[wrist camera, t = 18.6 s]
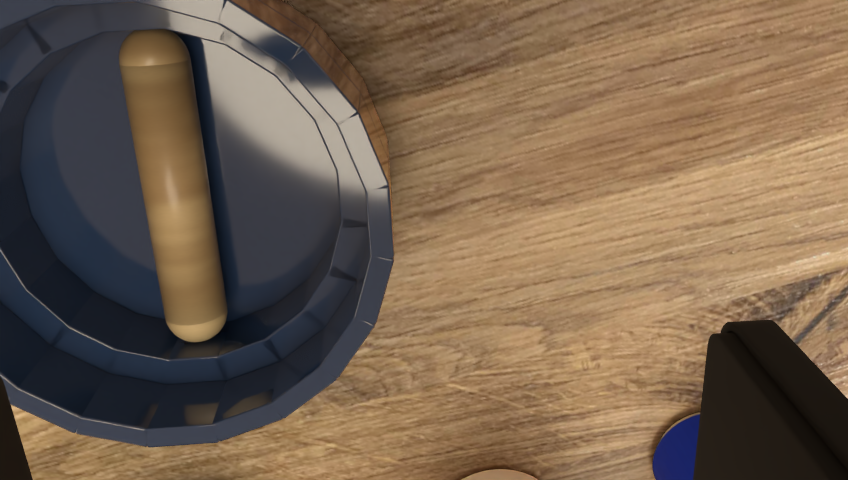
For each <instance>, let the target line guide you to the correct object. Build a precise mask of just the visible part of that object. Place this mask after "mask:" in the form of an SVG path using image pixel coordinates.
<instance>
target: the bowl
mask: <svg viewBox="0 0 848 480" xmlns="http://www.w3.org/2000/svg"><path fill="white" fill-rule="evenodd" d="M157 29H166V30H169V31H172V32H173V33H175V34H176V35H177V36H178V37H179V38H181V39H182V41H183V42H184V44H185V45H186V47H187V49H188V51H189V55H190V59H191V66H192V73H193V79H194V86H195V93H196V100H197V106H198V113H199V120H200V127H201V133H202V140H203V147H204V153H205V160H206V167H207V174H208V180H209V187H210V194H211V201H212V207H213V214H214V221H215V227H216V234H217V241H218V248H219V254H220V261H221V268H222V275H223V281H224V288H225V295H226V302H227V311H228V313H227V319H226V322H225V324H224V326H223V328H222V329H221V330H220V332H219V333H218V334H216V335H215V336H214V337H212V338H211V339H208V340H206V341H202V342H188V341H185V340H182V339H180V338H179V337H177V336H176V335H174V333H173V332H172V331H171V330H170V329H169V327H168V325H167V323H166V319H165V315H164V309H163V304H162V298H161V293H160V287H159V282H158V276H157V270H156V265H155V259H154V254H153V248H152V243H151V237H150V232H149V226H148V221H147V215H146V210H145V204H144V199H143V193H142V188H141V182H140V177H139V171H138V166H137V160H136V154H135V149H134V143H133V138H132V132H131V127H130V121H129V116H128V110H127V105H126V99H125V94H124V88H123V83H122V77H121V72H120V66H119V51H120V48H121V45H122V43H123V41H124V40H125V38H126V37H127V36H128V35H129V34H130V33H131V32H133V31H138V30H157ZM393 262H394V236H393V214H392V194H391V179H390V164H389V149H388V140H387V136H386V134H385V131H384V129H383V126H382V124H381V121H380V119H379V116H378V114H377V112H376V109H375V107H374V104H373V102H372V99H371V97H370V94H369V92H368V89H367V87H366V85H365V82H364V80H363V79H362V76H361V75H360V74H359V73H358V72H357V70H356V69H355V68H354V67H353V66H352V64H351V63H350V62H349V61H348V60H347V58H346V57H345V56H344V55H343V54H342V52H341V51H340V50H339V49H338V48H337V46H336V45H335V44H334V43H333V42H332V40H331V39H330V38H329V37H328V36H327V34H326V33H325V32H324V31H323V30H322V28H321V27H320V26H319V25H317V24H316V22H314V21H313V20H311V19H309V18H308V17H306V16H305V15H303V14H302V13H300V12H299V11H297V10H296V9H294V8H292V7H291V6H289V5H288V4H286V3H285V2H283V1H282V0H0V377H1V379H2V380H3V382H4V385H5V388H6V391H7V395H8V398H9V401H10V404H11V405H13V406H15V407H17V408H20V409H22V410H24V411H26V412H28V413H31V414H33V415H35V416H37V417H39V418H42V419H44V420H46V421H48V422H50V423H53V424H55V425H57V426H59V427H61V428H63V429H66V430H68V431H70V432H72V433H75V432H76V433H77V434H80V435H85V436H90V437H96V438H101V439H107V440H112V441H118V442H123V443H129V444H134V445H139V446H145V447H146V446H148V447H161V446H175V445H189V444H203V443H217V442H219V441H223V440H226V439H229V438H231V437H234V436H237V435H240V434H243V433H245V432H248V431H251V430H254V429H257V428H259V427H262V426H265V425H268V424H271V423H274V422H276V421H279V420H281V419H283V418H286V417H287V416H288V415H290V414H291V413H292V412H294V411H295V410H296V409H298V408H299V407H300V406H302V405H303V404H305V403H306V402H307V401H309V400H310V399H311V398H313V397H314V396H315V395H317V394H318V393H319V392H321V391H322V390H323V389H325V388H326V387H327V386H329V385H330V384H332V383H333V382H334V381H336V379H337V378H338V377H339V376H340V375H341V373H342V372H343V371H344V369H345V368H346V366H347V365H348V363H349V362H350V361H351V359H352V358H353V356H354V355H355V353H356V352H357V351H358V349H359V348H360V346H361V345H362V343H363V342H364V341H365V339H366V338H367V336H368V335H369V334H370V332H371V331H372V329H373V328H374V326H375V324H376V322H377V319H378V315H379V312H380V308H381V305H382V301H383V298H384V294H385V291H386V287H387V283H388V280H389V276H390V273H391V269H392V266H393Z"/></svg>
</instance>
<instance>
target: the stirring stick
mask: <svg viewBox="0 0 848 480" xmlns="http://www.w3.org/2000/svg"><path fill="white" fill-rule="evenodd" d="M119 66H120V72H121V77H122V83H123V88H124V94H125V99H126V105H127V110H128V116H129V121H130V127H131V132H132V138H133V143H134V149H135V154H136V160H137V166H138V171H139V177H140V182H141V188H142V193H143V199H144V204H145V210H146V215H147V221H148V226H149V232H150V237H151V243H152V248H153V254H154V259H155V265H156V270H157V276H158V282H159V287H160V293H161V298H162V304H163V309H164V315H165V319H166V323H167V325H168V327H169V329H170V330H171V331H172V332H173V333H174V335H176V336H177V337H179V338H180V339H182V340H185V341H188V342H202V341H206V340H208V339H211V338H212V337H214V336H215V335H216V334H218V333H219V332H220V330H221V329H222V328H223V326H224V324H225V322H226V319H227V313H228V311H227V302H226V295H225V288H224V281H223V275H222V268H221V261H220V254H219V248H218V241H217V234H216V227H215V221H214V214H213V207H212V201H211V194H210V187H209V180H208V174H207V167H206V160H205V153H204V147H203V140H202V133H201V127H200V120H199V113H198V106H197V100H196V93H195V86H194V79H193V73H192V66H191V59H190V55H189V51H188V49H187V47H186V45H185V44H184V42H183V41H182V39H181V38H179V37H178V36H177V35H176V34H175V33H173V32H172V31H169V30H166V29H157V30H138V31H133V32H131V33H130V34H129V35H128V36H127V37H126V38H125V40H124V41H123V43H122V45H121V48H120V51H119Z"/></svg>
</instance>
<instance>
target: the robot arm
mask: <svg viewBox="0 0 848 480" xmlns="http://www.w3.org/2000/svg"><path fill="white" fill-rule="evenodd" d="M0 480H33V479H32V476H31V472H30V469H29V466H28V462H27V459H26V456H25V452H24V449H23V445H22V442H21V439H20V435H19V432H18V428H17V425H16V422H15V418H14V415H13V412H12V408H11V405H10V401H9V398H8V395H7V391H6V388H5V385H4V382H3V380H2V379H1V377H0ZM693 480H848V399H847V398H846V397H845V396H844V395H843V394H842V393H841V391H840V390H839V389H838V388H837V387H836V386H835V385H834V384H833V383H832V382H831V381H830V380H829V379H828V378H827V377H826V376H825V375H824V373H823V372H822V371H821V370H820V369H819V368H818V367H817V366H816V365H815V364H814V363H813V362H812V361H811V360H810V359H809V358H808V357H807V355H806V354H805V353H804V352H803V351H802V350H801V349H800V348H799V347H798V346H797V345H796V344H795V343H794V342H793V341H792V340H791V339H790V337H789V336H788V335H787V334H786V333H785V332H784V331H783V330H782V329H781V328H780V327H779V326H778V325H777V324H776V323H775V322H773V321H772V320H758V321H740V322H727V323H726V324H725V325H724V326H723V328H722V330H721V333H719V334H712V335H711V336H710V339H709V342H708V348H707V357H706V366H705V375H704V384H703V393H702V402H701V411H700V420H699V429H698V438H697V448H696V457H695V466H694V475H693Z"/></svg>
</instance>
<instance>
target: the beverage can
mask: <svg viewBox="0 0 848 480" xmlns="http://www.w3.org/2000/svg"><path fill="white" fill-rule="evenodd" d="M699 420H700V412H699V413H695V414H691V415H689V416H686V417H684V418H682V419H681V420H679V421H677V422H676V423H675V424H673V425H672V426H671V427H670V428H669V429H668V430H667V431H666V432H665V434H664V435H663V436H662V438H661V440H660V442H659V443H658V445H657V447H656V450H655V453H654V457H653V473H654V476H655V479H656V480H693V475H694V466H695V457H696V448H697V438H698V429H699Z"/></svg>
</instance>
